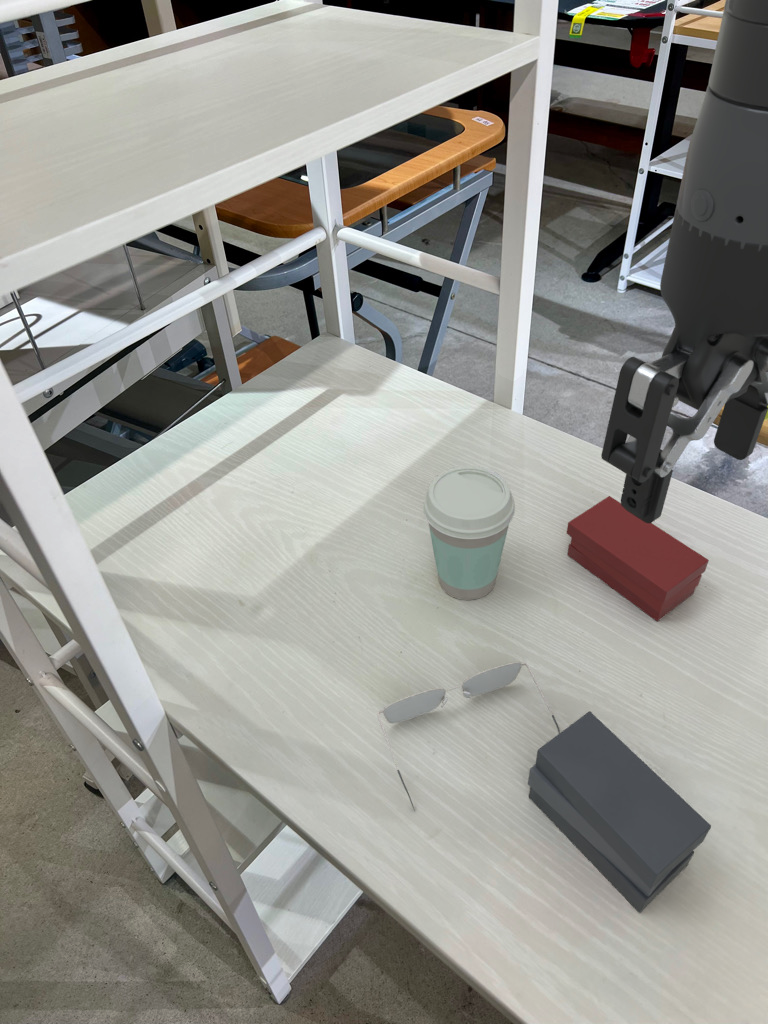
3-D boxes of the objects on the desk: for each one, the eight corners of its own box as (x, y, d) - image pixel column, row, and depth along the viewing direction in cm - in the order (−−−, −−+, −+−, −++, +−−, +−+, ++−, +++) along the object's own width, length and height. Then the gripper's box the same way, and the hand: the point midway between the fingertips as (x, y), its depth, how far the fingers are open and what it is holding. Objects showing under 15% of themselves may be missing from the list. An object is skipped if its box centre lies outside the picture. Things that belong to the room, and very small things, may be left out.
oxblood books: (697, 594, 73) (704, 572, 71) (657, 625, 71) (664, 603, 69) (603, 530, 80) (608, 508, 78) (565, 556, 78) (568, 534, 76)
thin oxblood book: (705, 571, 71) (709, 559, 70) (663, 603, 69) (667, 592, 68) (607, 506, 79) (609, 495, 77) (566, 533, 76) (567, 522, 75)
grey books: (692, 864, 55) (716, 821, 50) (639, 918, 52) (658, 878, 48) (574, 752, 62) (585, 705, 57) (522, 795, 59) (529, 749, 55)
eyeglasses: (523, 679, 67) (527, 655, 64) (566, 759, 62) (573, 737, 59) (377, 728, 65) (375, 706, 62) (409, 816, 59) (409, 797, 56)
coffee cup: (523, 596, 74) (532, 508, 66) (444, 621, 73) (444, 534, 65) (487, 540, 80) (491, 453, 72) (413, 562, 79) (409, 475, 71)
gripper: (746, 283, 28) (661, 575, 39) (937, 181, 33) (816, 461, 44) (591, 225, 32) (555, 502, 43) (782, 144, 38) (707, 407, 49)
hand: (687, 481), depth 44 cm, fingers open, 8 cm apart
